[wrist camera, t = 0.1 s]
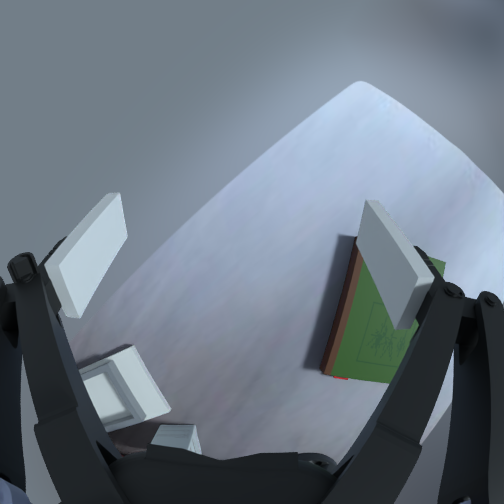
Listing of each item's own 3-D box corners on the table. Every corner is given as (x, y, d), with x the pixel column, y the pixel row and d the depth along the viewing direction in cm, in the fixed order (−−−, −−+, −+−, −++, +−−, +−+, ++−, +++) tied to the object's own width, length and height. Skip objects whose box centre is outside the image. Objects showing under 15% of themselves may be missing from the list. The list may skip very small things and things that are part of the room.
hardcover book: (354, 237, 52) (361, 235, 49) (435, 262, 52) (445, 262, 49) (317, 370, 51) (322, 377, 48) (401, 382, 51) (410, 389, 48)
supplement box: (167, 452, 50) (151, 488, 37) (160, 423, 50) (141, 457, 37) (202, 453, 50) (193, 491, 37) (196, 423, 50) (185, 460, 38)
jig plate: (171, 408, 50) (166, 418, 46) (103, 430, 50) (95, 439, 46) (133, 345, 51) (125, 350, 47) (68, 374, 50) (59, 379, 46)
